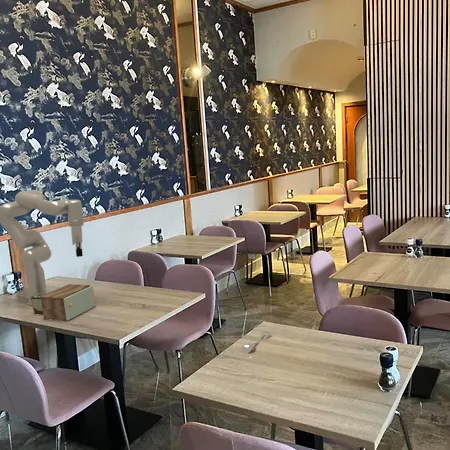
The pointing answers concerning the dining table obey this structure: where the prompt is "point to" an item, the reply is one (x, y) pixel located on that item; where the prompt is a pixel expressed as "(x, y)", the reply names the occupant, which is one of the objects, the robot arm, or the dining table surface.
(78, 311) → the cabinet door
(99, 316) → the dining table surface
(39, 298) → the food container
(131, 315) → the dining table surface
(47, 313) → the wooden shelf
